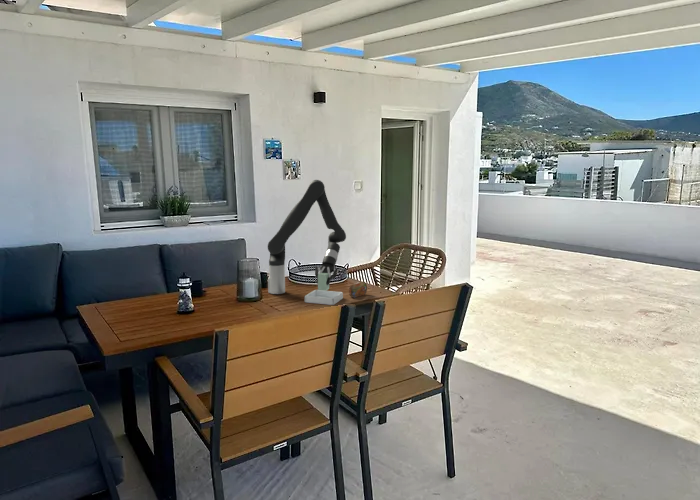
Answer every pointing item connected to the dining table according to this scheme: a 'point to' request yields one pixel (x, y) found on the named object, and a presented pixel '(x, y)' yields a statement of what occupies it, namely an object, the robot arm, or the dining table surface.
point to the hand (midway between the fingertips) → (322, 283)
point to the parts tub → (323, 297)
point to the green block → (323, 281)
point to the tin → (357, 289)
